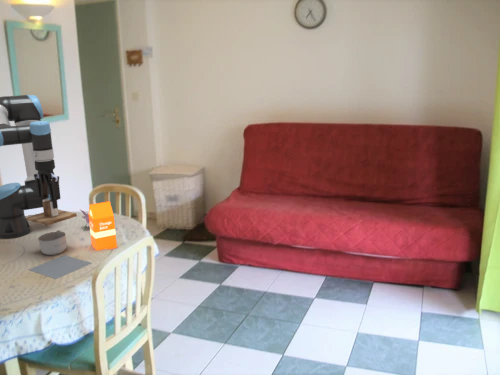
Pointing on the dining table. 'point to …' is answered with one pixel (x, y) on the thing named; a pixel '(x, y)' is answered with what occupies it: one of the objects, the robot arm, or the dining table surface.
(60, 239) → the teacup
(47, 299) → the dining table surface
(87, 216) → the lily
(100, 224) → the orange juice
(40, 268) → the mat
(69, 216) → the lid
